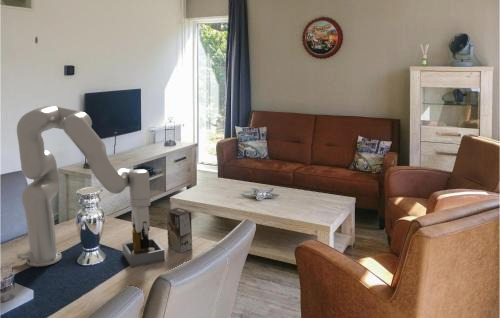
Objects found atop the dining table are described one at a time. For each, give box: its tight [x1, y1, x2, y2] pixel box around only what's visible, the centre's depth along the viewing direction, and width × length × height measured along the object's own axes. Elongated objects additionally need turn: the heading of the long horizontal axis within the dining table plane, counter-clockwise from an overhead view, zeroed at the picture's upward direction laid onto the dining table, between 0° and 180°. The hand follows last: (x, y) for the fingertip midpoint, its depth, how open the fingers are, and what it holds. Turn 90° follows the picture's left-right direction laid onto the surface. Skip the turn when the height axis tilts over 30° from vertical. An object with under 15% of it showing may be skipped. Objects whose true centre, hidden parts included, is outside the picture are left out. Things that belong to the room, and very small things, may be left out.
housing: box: [122, 237, 166, 269], centre depth 183 cm, size 13×14×4 cm
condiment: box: [131, 224, 155, 255], centre depth 181 cm, size 7×8×12 cm
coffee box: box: [166, 207, 193, 253], centre depth 191 cm, size 9×6×16 cm
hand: (142, 244), depth 182 cm, fingers closed on condiment, 6 cm apart
